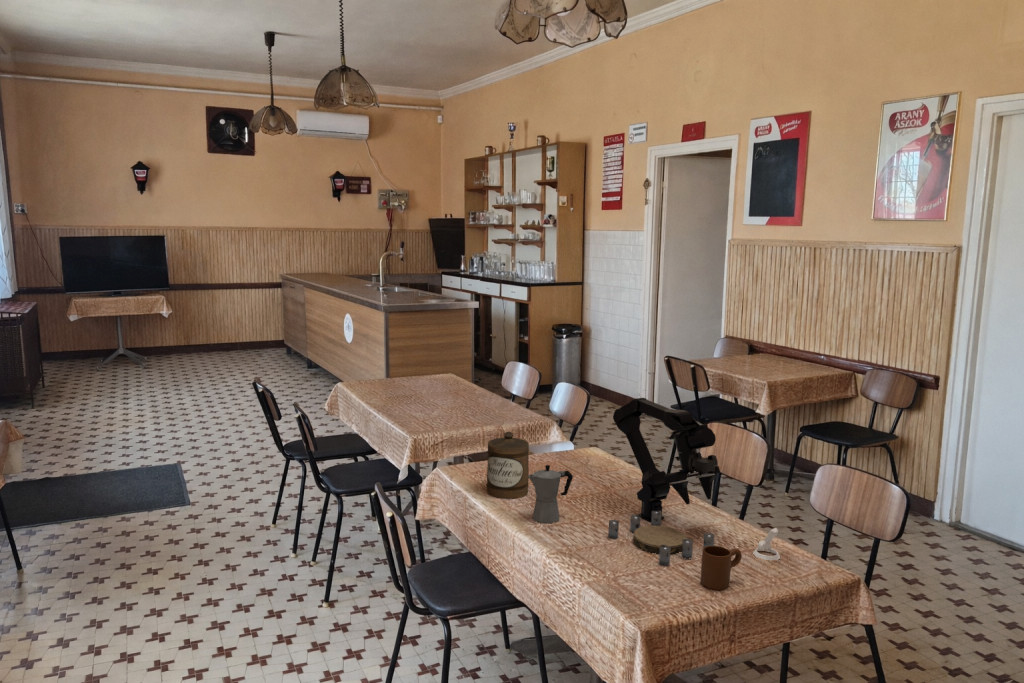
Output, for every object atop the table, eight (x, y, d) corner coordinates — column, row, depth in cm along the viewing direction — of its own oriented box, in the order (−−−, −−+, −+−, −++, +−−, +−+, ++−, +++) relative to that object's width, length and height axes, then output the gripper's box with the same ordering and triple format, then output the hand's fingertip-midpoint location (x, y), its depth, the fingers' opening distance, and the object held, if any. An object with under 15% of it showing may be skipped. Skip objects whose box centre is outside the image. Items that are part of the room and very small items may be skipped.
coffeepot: (531, 525, 241) (533, 470, 239) (522, 515, 250) (523, 462, 248) (576, 521, 246) (578, 467, 243) (565, 511, 255) (567, 459, 252)
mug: (729, 573, 211) (732, 541, 209) (748, 585, 204) (751, 552, 202) (694, 580, 206) (696, 547, 204) (712, 592, 199) (714, 558, 198)
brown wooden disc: (693, 542, 232) (694, 532, 232) (676, 560, 219) (677, 550, 218) (644, 530, 240) (644, 521, 240) (625, 547, 227) (625, 538, 226)
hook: (779, 553, 212) (762, 533, 216) (762, 574, 221) (745, 555, 224) (797, 542, 216) (779, 523, 220) (779, 564, 224) (762, 545, 228)
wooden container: (480, 495, 267) (482, 435, 264) (494, 483, 281) (496, 425, 278) (520, 501, 263) (522, 439, 260) (533, 488, 277) (535, 429, 274)
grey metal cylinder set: (606, 536, 234) (606, 520, 233) (656, 523, 246) (656, 508, 245) (664, 567, 214) (665, 550, 213) (715, 551, 225) (716, 535, 224)
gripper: (683, 451, 224) (696, 504, 221) (726, 443, 234) (739, 494, 231) (658, 456, 233) (670, 508, 230) (700, 448, 243) (712, 497, 240)
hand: (698, 501), depth 233 cm, fingers open, 9 cm apart
